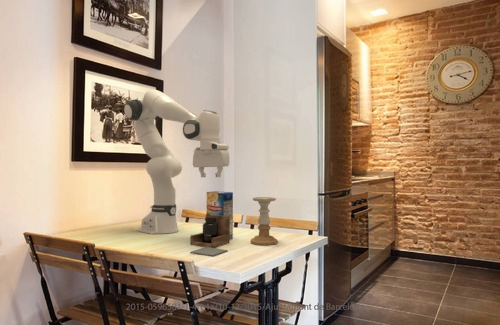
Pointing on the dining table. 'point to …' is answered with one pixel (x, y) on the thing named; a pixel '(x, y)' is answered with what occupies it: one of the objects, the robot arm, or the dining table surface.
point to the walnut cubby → (222, 233)
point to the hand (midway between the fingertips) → (210, 177)
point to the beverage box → (221, 206)
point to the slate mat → (209, 251)
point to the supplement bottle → (209, 229)
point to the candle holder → (264, 223)
